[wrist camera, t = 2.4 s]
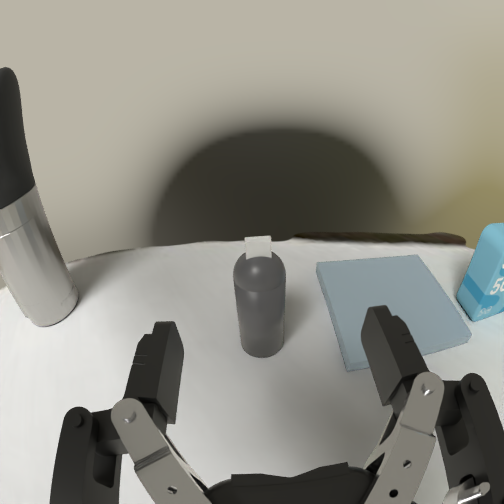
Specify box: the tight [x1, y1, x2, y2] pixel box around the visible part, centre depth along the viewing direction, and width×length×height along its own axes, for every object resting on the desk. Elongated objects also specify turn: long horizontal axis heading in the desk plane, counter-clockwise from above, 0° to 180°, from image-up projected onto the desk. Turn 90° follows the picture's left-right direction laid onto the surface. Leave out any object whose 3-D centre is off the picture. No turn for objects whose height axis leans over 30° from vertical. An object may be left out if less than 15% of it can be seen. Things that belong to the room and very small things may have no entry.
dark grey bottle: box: [233, 236, 286, 358], centre depth 26 cm, size 4×4×12 cm
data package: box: [457, 223, 504, 321], centre depth 26 cm, size 12×4×12 cm, turn 94°
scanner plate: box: [316, 255, 472, 371], centre depth 31 cm, size 16×16×2 cm
